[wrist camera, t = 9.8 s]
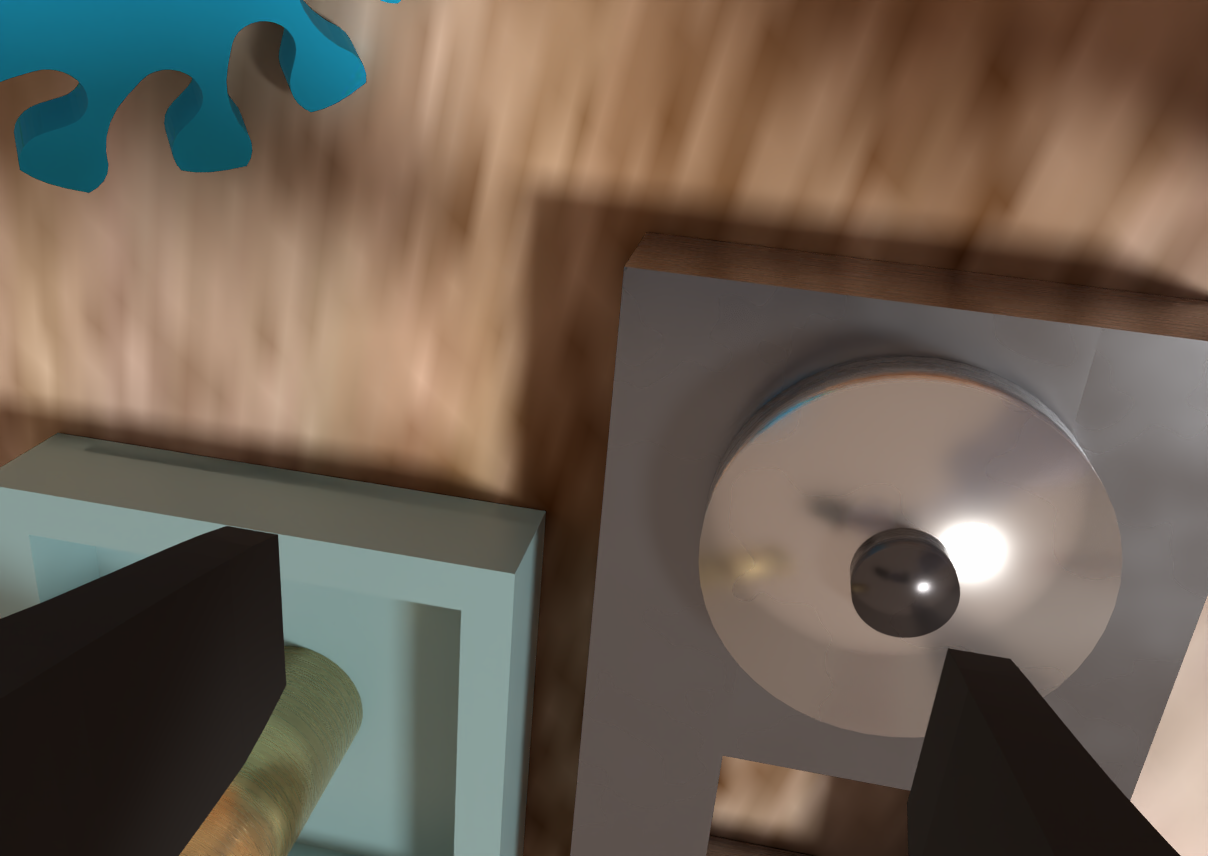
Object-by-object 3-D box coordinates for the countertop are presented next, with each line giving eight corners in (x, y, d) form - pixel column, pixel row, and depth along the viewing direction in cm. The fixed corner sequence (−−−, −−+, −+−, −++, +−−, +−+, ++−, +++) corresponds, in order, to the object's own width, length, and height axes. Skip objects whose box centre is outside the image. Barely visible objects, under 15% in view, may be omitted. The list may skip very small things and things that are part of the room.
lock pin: (420, 676, 23) (238, 1025, 15) (353, 806, 25) (159, 1178, 17) (241, 586, 23) (-37, 892, 15) (186, 723, 24) (-88, 1061, 17)
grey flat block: (1235, 304, 17) (1357, 398, 13) (1001, 985, 24) (1038, 1178, 20) (646, 232, 19) (604, 298, 15) (580, 896, 25) (539, 1061, 22)
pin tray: (546, 511, 21) (514, 574, 19) (520, 899, 26) (492, 987, 24) (57, 433, 23) (-26, 482, 20) (114, 812, 27) (51, 887, 25)
